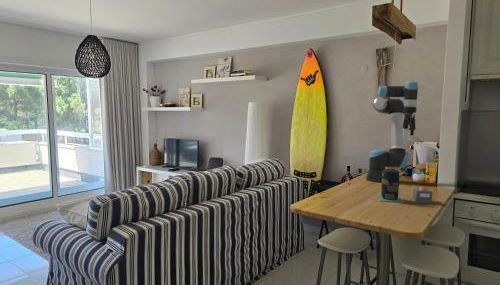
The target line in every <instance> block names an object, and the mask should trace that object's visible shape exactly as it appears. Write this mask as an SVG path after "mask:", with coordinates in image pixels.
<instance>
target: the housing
mask: <svg viewBox="0 0 500 285" xmlns="http://www.w3.org/2000/svg"><path fill="white" fill-rule="evenodd" d="M425 188H426V190H419V187H412V198H411V199H412V200H413V201H414V202H415V203H417V204H418V203H419V204H433V203H432V202H433V190H431V189H429V188H428V187H425Z"/></svg>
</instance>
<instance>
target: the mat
mask: <svg viewBox="0 0 500 285" xmlns="http://www.w3.org/2000/svg"><path fill="white" fill-rule="evenodd" d="M375 197H376V198H377V199H378V201H379V202H386V203H405V202H404V200H403V199H402V198H400V197H399V196H398V198H397V199H385V198H383V197H382V196H381V195H378V194H377V195H375Z"/></svg>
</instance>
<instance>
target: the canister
mask: <svg viewBox="0 0 500 285" xmlns="http://www.w3.org/2000/svg"><path fill="white" fill-rule="evenodd" d="M399 186H400V171H399V170H397V169H395V168H393V167H389V168H388V169H387V168H385V170H383V171H382V182H381V189H380V190H381V192H380V196H382V197H383V198H385V199H397V198H398V197H399V193H400V192H399V188H400V187H399Z"/></svg>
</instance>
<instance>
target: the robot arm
mask: <svg viewBox="0 0 500 285" xmlns="http://www.w3.org/2000/svg"><path fill="white" fill-rule="evenodd" d="M418 92H419V83H418V82H417V81H406V82H405V84H404V85H379V86H378V89H377V97H376V98H375V99H374V101H373V103H372V104H373V105H372V106H373V108H374V110H375V111H376V112H378V113H380V114H387V115H388V117H389V118H390V148H389V149H388V150H387V149H385V148H383V149H382V148H381V149H379V148H378V149H373V150H371V151H370V152H369V156H368V157H369V160H368V161H369V162H368V172H367V173H366V175H365V180H366V181H369V182H374V183H375V182H376V183H382V171H383V170H385V169H387V168H398V169H399V168H400V169H402V168H403V169H404V168H406V167H407V166H408V161H409V156H410V155H409V152H408V151H406V148H404V140H406V139H408V141H414V137H415V130H416V128H417V127H416V119H415V118H416V117H415V116H416V115H415V114H414V113H417V109H418V108H417V106H418Z"/></svg>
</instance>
